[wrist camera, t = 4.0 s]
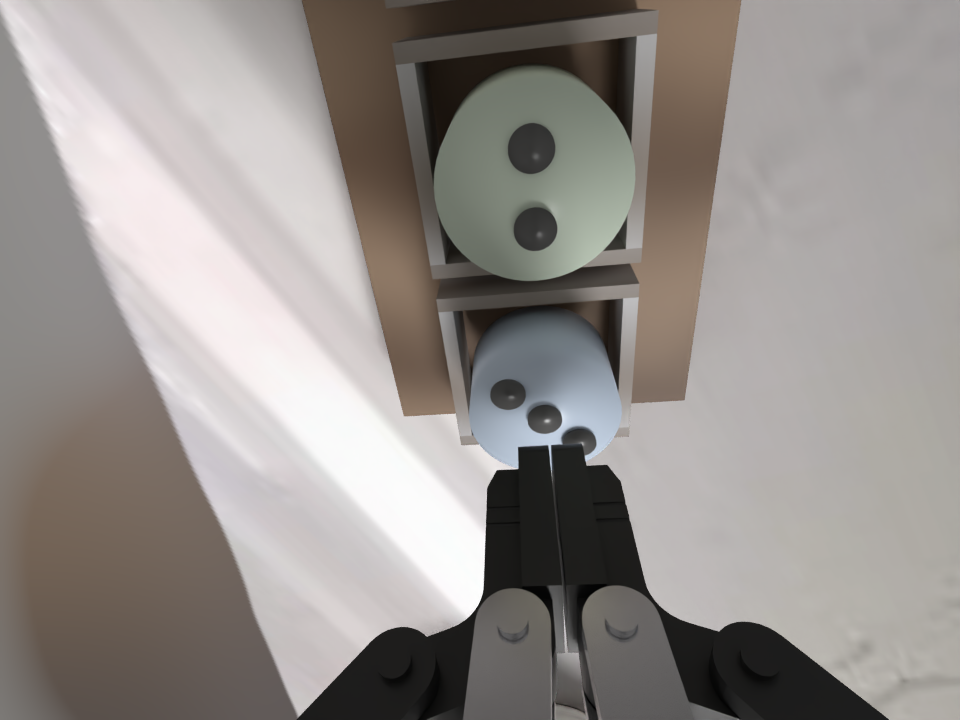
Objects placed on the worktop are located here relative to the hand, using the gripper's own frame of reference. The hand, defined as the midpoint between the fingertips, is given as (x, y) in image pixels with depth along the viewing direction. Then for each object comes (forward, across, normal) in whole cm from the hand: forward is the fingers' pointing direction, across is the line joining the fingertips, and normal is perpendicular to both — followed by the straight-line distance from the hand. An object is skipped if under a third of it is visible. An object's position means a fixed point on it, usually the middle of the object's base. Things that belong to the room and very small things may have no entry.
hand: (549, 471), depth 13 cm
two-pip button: (+4, 0, -6) cm, 7 cm away
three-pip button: (+4, 0, 0) cm, 4 cm away
